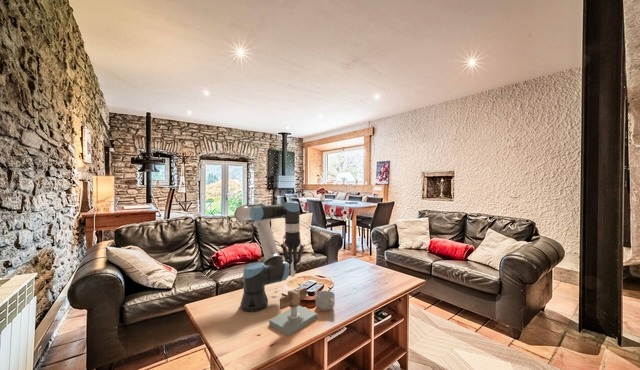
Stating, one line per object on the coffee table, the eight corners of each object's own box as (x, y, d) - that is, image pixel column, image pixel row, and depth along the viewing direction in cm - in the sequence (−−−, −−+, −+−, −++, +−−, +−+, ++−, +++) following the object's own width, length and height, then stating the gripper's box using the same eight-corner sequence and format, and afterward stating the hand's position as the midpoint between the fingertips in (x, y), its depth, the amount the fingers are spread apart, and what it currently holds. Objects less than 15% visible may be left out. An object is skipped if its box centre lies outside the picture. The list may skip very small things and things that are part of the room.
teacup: (312, 305, 149) (312, 291, 149) (330, 302, 153) (330, 288, 153) (321, 317, 136) (321, 302, 136) (340, 313, 140) (340, 298, 140)
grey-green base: (269, 324, 129) (269, 307, 129) (298, 309, 144) (298, 294, 144) (288, 335, 120) (288, 317, 120) (317, 318, 135) (317, 301, 135)
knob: (276, 308, 128) (276, 295, 127) (301, 296, 140) (301, 285, 140) (284, 312, 124) (284, 299, 124) (309, 300, 136) (309, 288, 136)
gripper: (278, 232, 136) (278, 277, 136) (301, 233, 132) (302, 279, 133) (283, 229, 143) (284, 272, 143) (306, 230, 139) (307, 274, 140)
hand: (293, 275), depth 138 cm, fingers closed
